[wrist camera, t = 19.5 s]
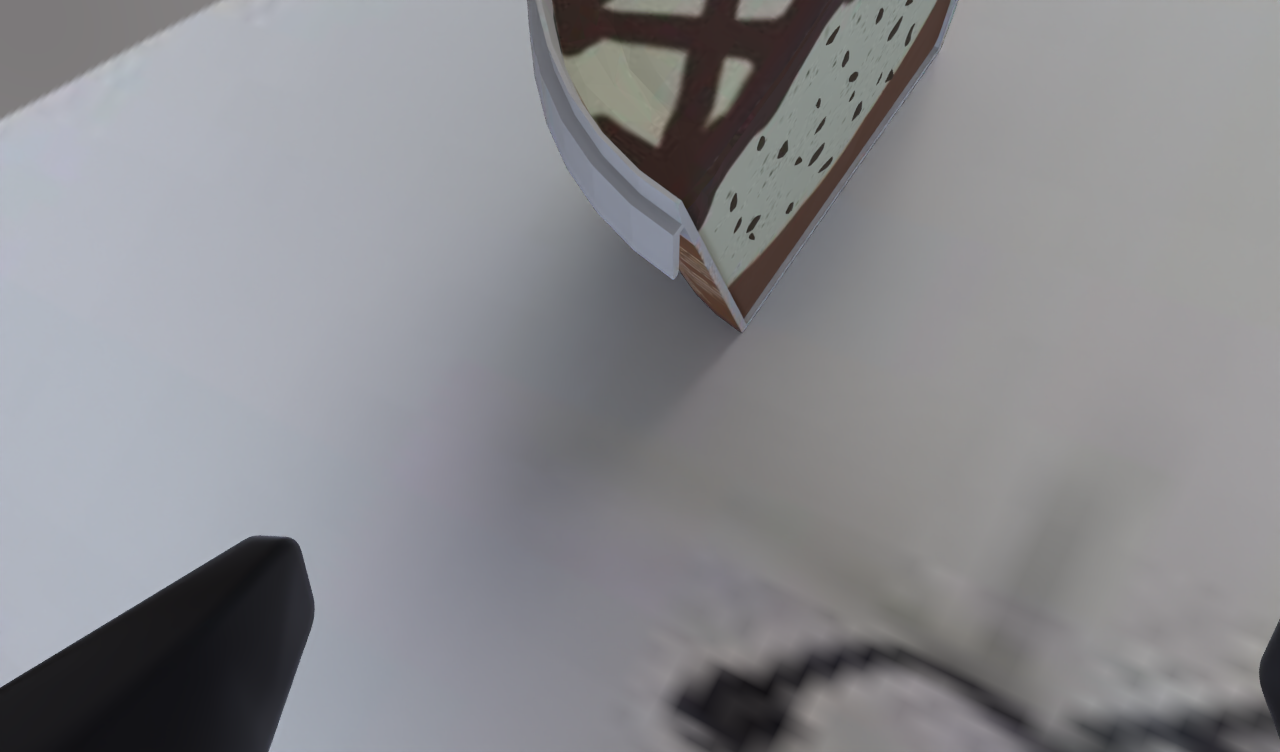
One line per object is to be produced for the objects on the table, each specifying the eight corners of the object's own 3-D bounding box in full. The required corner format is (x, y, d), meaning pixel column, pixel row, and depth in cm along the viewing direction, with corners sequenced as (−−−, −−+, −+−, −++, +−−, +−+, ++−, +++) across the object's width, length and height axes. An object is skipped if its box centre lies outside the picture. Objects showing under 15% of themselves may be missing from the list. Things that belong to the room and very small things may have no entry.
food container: (777, -93, 25) (777, -510, 15) (972, 3, 24) (1108, -394, 14) (520, 257, 24) (347, 43, 14) (709, 381, 22) (658, 234, 13)
